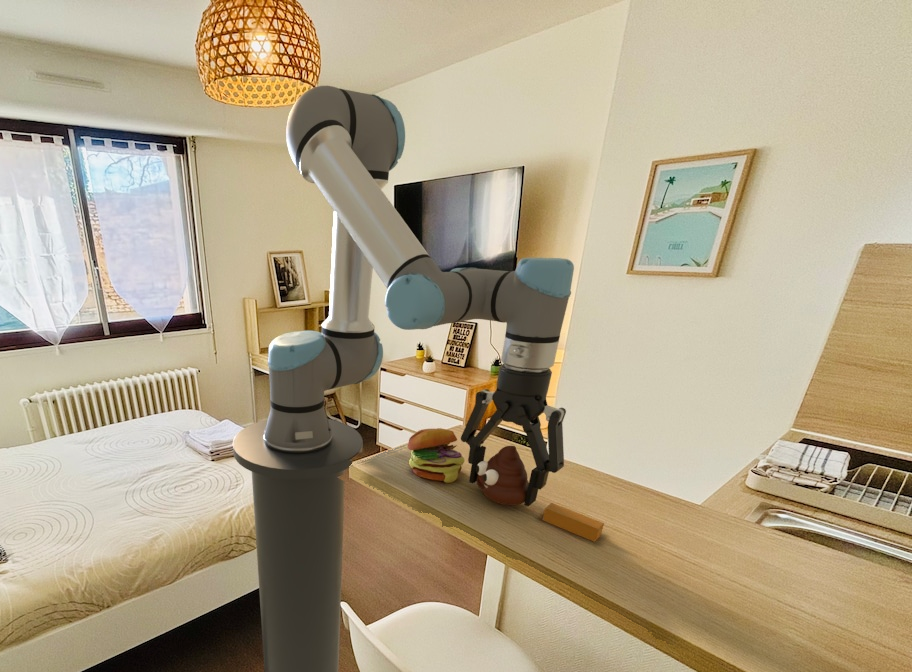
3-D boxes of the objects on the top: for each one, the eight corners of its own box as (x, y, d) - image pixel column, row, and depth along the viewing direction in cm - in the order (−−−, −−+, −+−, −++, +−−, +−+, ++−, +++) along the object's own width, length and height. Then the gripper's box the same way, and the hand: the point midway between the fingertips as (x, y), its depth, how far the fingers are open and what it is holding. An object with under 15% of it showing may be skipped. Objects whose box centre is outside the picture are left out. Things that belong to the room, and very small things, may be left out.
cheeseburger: (431, 490, 85) (428, 436, 82) (398, 477, 94) (394, 429, 92) (474, 478, 88) (472, 426, 86) (438, 467, 98) (436, 420, 96)
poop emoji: (538, 506, 78) (550, 455, 74) (489, 508, 77) (498, 458, 73) (510, 477, 87) (519, 431, 82) (465, 479, 86) (473, 433, 82)
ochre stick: (541, 520, 76) (545, 507, 75) (548, 514, 78) (551, 502, 77) (594, 542, 71) (598, 529, 70) (600, 535, 72) (604, 523, 71)
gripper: (449, 356, 77) (434, 475, 87) (594, 387, 62) (556, 526, 72) (473, 349, 82) (457, 463, 91) (613, 376, 67) (576, 508, 76)
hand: (501, 491), depth 82 cm, fingers closed on poop emoji, 9 cm apart
